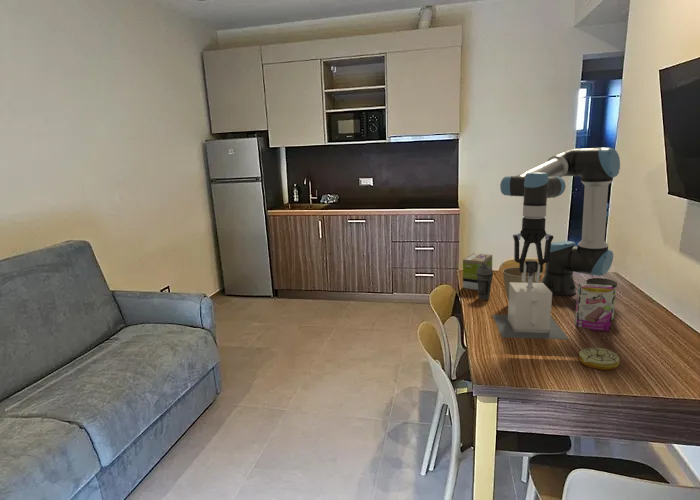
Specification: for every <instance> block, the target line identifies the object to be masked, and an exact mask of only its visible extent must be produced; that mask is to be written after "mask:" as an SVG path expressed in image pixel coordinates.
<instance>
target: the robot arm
mask: <svg viewBox="0 0 700 500" xmlns="http://www.w3.org/2000/svg"><path fill="white" fill-rule="evenodd" d="M620 169H621V161H620V156H619V153H618V151H617V150H616V149H614V148H613V147H589V148H588V147H587V148H573V149H568V150H565V151H562V152H559V153H557V154H555V155H552V156H551V157H549V158H548V159H547V160H546V162H543V163H541V164H539V165H536V166H535V167H533V168H531V169H528V170H527V171H524V172H522V173H519V174H517V175H509V176H504V177H503V178H502V179H501V181H500V184H499V186H500V192H501V194H502V195H504V196H510V197H522V198H523V204H522V205H523V206H522V208H523V209H522V216H523V217H522V219H521V230H520V233H517V234H513V235H512V239H513V241H514V243H513V244H514V254H513V255H514V258H513V259H514V260H513V261H515V262H516V263H518V264H519V265H518V266H519V271H520V272H521V273H522V281H523V282H526V264H525V261H526V259H527V255H528V252H529V249H530V248H529V247H530V245H531V244H535V251H536V254H537V272H535V281H536V282H539V276H540V273H543V270H544V275H543V278H542V279H541V280H540V283H544V285H545V286H546V287H547V288H548V289H549V290H550V291H551V292H552V296H553V295H554V296H572V295H575V294H576V293H577V286H576V282H575V280H574V276H573V275H574V273H577V274H578V273H579V274H585V275H589V276H592V277H593V276H596V277H603V276H605V275H606V274H607V273H608V272H609V271H610V269H611V266H612V264H613V260H614V252H613V251H612V250H611V249H609V244H608V243H607V242H606V241H605V239H606V238H605V236H606V224H607V207H608V193H609V185H610V184H611V183H612V182H613V181H614V178H615V177H617V176H618V175H619V173H620ZM563 177H580V182H581V183H582V184H583V186H584V191H583V193H584V194H583V208H582V209H583V211H582V226H581V227H582V228H581V240H580V241H579V242H577V245H576V242H575V241H572V240H571V241H570V240H563V241H562V240H561V241H554V242H552V241H553V240H554V235H553V234H548V233H547V231H546V222H547V221H546V219H547V218H546V217H547V202H548V200H547V199H551V198H554V199H555V198H557V197H560V196H561V195H563V194H564V192H565V191H566V181H565V180H564V179H563ZM521 238H522V239H523V241H524V242H523V246H522V251H521V253H520V240H521ZM544 238H545V244H544V251H542V250H543V249H542V240H543V239H544ZM543 253H544V255H543ZM544 266H545V267H544Z"/></svg>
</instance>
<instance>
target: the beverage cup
mask: <svg viewBox="0 0 700 500" xmlns="http://www.w3.org/2000/svg"><path fill="white" fill-rule="evenodd" d="M476 274H477V280H478V290H477V295H478V299H479V300H480V301H481V300H483V301H488V300H490V296H491V287H492V283H491V281H492V282H493V276H494V271H493V267H492V268H491V267H490V266H488V265H486V256H485V265H481V266H480V267H479V268H478V269H477V273H476Z"/></svg>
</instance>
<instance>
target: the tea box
mask: <svg viewBox="0 0 700 500" xmlns="http://www.w3.org/2000/svg"><path fill="white" fill-rule="evenodd" d="M485 256H486V265H488V266H490V267H491V268H492V269H493V254H483V253H475V252H473V253H472V254H470V255H469V256H467V257H465V258H464V259H463V260H462V288H463V289H469V290H475V291H478V280H477V274H476V273H477V269H478V268H479V267H480V266H481V265H485ZM492 283H493V280H492V281H491V284H492Z"/></svg>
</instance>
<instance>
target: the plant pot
mask: <svg viewBox="0 0 700 500" xmlns="http://www.w3.org/2000/svg"><path fill="white" fill-rule="evenodd" d="M542 273H543V272H542ZM542 273H540V276H539V282H536V281H535V273H533V283H541V280H542V279H541V278H542ZM502 275H503V283H504V289H505V293H506V298H507V301H508V302H509V282H517V283H528V272H526V282H523V281H522V273H521V272H520V271H519V267H508V268H504V269H502Z"/></svg>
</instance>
